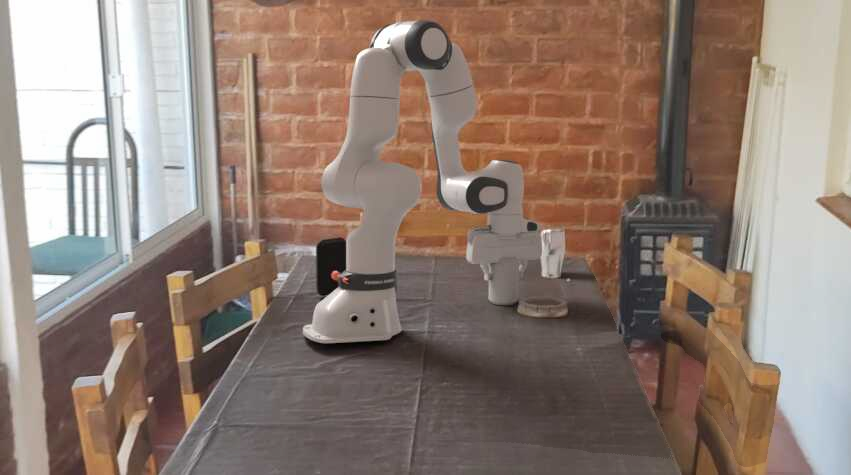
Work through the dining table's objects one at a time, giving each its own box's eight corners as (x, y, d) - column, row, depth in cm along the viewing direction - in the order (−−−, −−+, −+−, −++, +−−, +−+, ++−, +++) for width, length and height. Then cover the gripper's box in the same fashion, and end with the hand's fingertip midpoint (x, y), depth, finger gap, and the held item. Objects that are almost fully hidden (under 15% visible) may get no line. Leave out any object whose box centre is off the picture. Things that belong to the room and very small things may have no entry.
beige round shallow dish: (534, 319, 211) (534, 309, 211) (508, 308, 222) (508, 298, 221) (577, 314, 216) (577, 304, 216) (549, 304, 227) (550, 294, 226)
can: (518, 299, 231) (519, 253, 229) (518, 306, 224) (519, 259, 222) (488, 299, 232) (489, 253, 230) (487, 305, 225) (488, 258, 223)
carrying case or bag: (345, 290, 241) (345, 235, 239) (353, 292, 239) (352, 236, 236) (313, 296, 233) (313, 239, 231) (321, 298, 231) (320, 241, 229)
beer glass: (558, 287, 247) (559, 233, 244) (534, 284, 250) (536, 231, 248) (567, 283, 253) (569, 230, 250) (544, 280, 256) (545, 228, 254)
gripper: (474, 228, 218) (473, 284, 220) (546, 224, 226) (544, 278, 229) (462, 224, 223) (461, 279, 225) (532, 220, 232) (531, 273, 234)
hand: (503, 278), depth 227 cm, fingers closed on can, 7 cm apart
